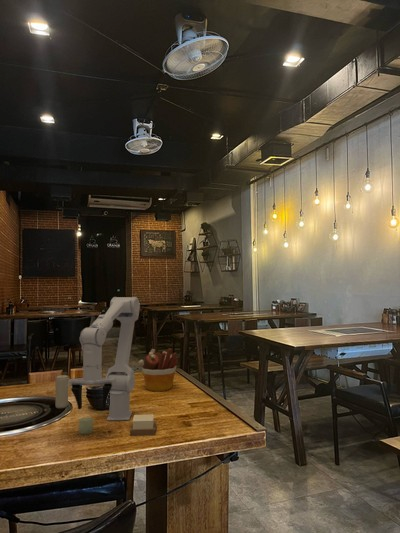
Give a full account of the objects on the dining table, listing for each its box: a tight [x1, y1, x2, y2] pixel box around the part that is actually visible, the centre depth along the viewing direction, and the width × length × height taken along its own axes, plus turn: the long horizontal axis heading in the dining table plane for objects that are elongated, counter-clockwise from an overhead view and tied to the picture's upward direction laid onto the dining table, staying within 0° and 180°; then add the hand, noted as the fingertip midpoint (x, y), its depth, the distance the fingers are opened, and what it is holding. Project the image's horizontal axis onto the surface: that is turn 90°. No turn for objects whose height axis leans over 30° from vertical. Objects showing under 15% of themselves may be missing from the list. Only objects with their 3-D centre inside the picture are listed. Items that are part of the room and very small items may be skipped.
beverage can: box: [54, 374, 69, 409], centre depth 158 cm, size 5×5×12 cm
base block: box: [129, 420, 158, 437], centre depth 130 cm, size 8×8×2 cm
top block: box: [132, 413, 155, 429], centre depth 130 cm, size 6×6×2 cm
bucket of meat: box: [138, 347, 179, 392], centre depth 186 cm, size 20×16×20 cm
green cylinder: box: [78, 416, 94, 435], centre depth 130 cm, size 4×4×4 cm
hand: (92, 408), depth 126 cm, fingers open, 7 cm apart
